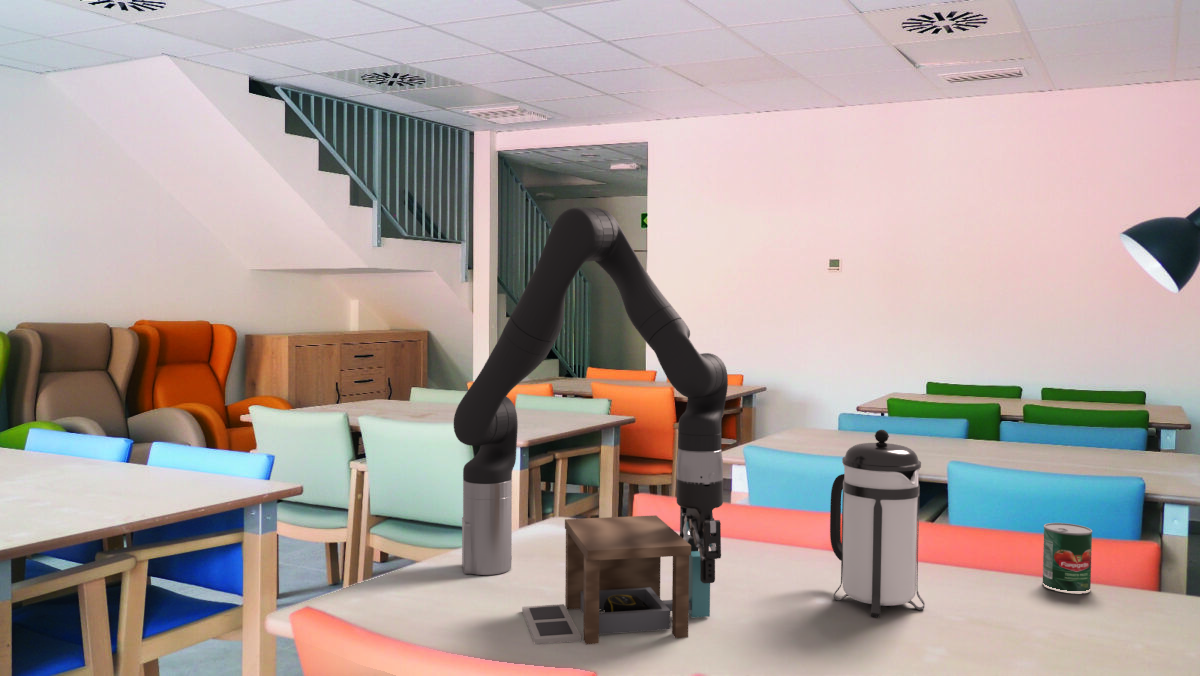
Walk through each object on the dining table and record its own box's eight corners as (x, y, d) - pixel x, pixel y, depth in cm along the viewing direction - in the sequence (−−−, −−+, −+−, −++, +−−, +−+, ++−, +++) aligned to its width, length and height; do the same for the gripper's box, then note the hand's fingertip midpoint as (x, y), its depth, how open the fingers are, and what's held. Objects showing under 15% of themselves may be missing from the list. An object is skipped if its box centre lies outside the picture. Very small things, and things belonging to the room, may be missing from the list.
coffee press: (929, 596, 165) (933, 426, 163) (919, 624, 150) (923, 438, 149) (829, 583, 172) (832, 420, 171) (810, 608, 157) (813, 431, 156)
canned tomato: (1062, 579, 175) (1063, 520, 175) (1100, 591, 168) (1102, 530, 168) (1032, 584, 172) (1034, 525, 171) (1070, 597, 165) (1072, 535, 164)
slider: (594, 634, 144) (595, 570, 143) (580, 609, 156) (580, 549, 155) (718, 626, 148) (719, 563, 148) (695, 601, 160) (696, 543, 159)
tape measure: (652, 627, 149) (652, 604, 148) (611, 631, 146) (612, 608, 146) (637, 613, 155) (638, 591, 155) (598, 617, 153) (598, 594, 153)
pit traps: (534, 644, 140) (534, 638, 140) (522, 611, 155) (522, 606, 155) (580, 641, 142) (580, 635, 142) (563, 608, 156) (564, 603, 156)
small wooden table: (587, 646, 139) (587, 550, 139) (564, 603, 159) (564, 519, 158) (690, 639, 143) (691, 545, 142) (655, 598, 162) (656, 515, 162)
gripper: (665, 469, 159) (665, 564, 159) (690, 485, 145) (690, 589, 145) (707, 468, 160) (707, 562, 161) (736, 483, 146) (736, 586, 147)
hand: (699, 574), depth 153 cm, fingers open, 8 cm apart
